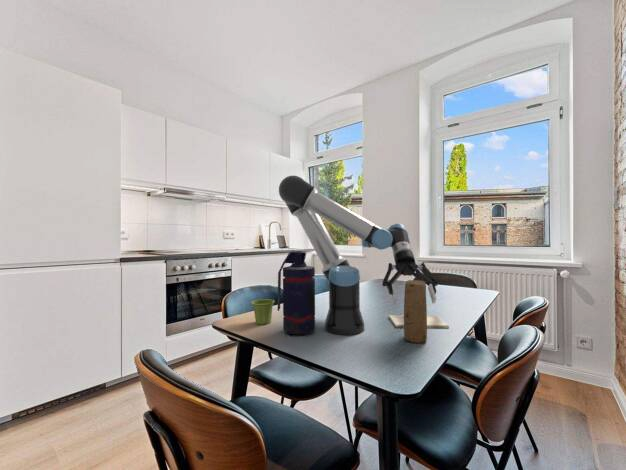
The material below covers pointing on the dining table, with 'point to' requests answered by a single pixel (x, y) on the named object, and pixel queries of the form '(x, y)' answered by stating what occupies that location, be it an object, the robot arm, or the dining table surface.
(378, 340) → the dining table surface
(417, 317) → the block
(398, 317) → the letter board
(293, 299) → the grenade
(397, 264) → the robot arm
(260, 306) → the plant pot
